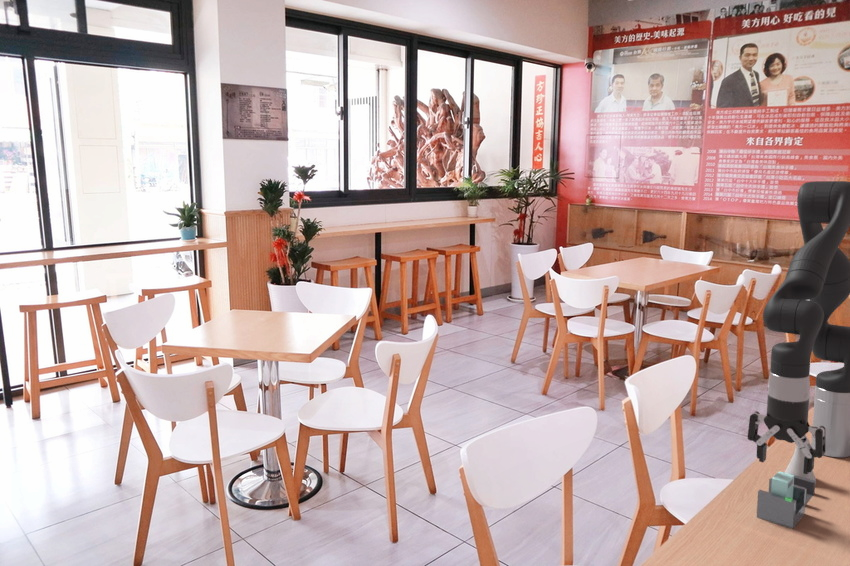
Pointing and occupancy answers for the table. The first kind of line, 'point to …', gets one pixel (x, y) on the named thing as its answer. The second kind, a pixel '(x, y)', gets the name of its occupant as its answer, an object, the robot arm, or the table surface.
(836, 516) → the table surface
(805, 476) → the flask
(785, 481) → the plug
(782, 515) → the port
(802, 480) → the grey ridged tray
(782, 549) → the table surface
